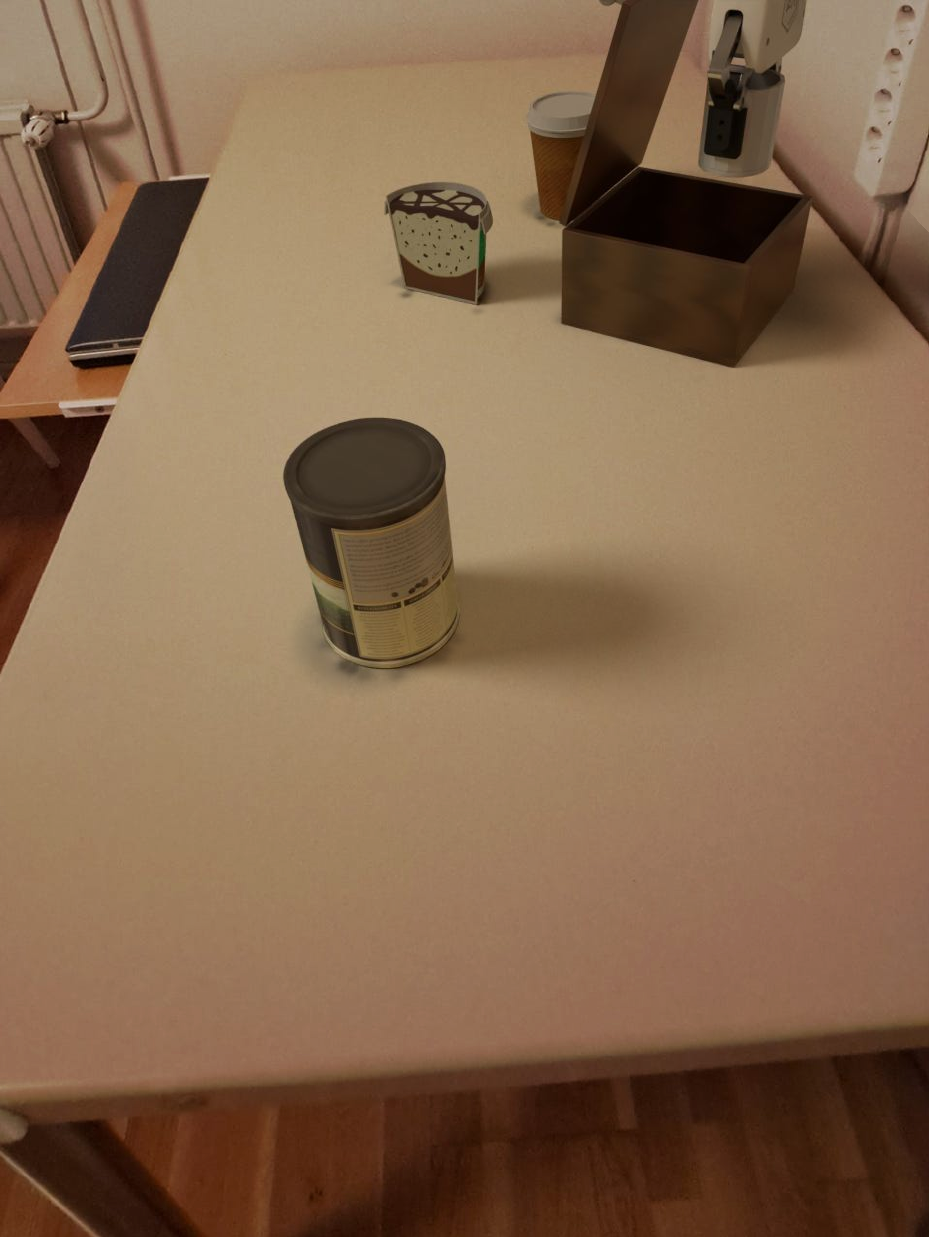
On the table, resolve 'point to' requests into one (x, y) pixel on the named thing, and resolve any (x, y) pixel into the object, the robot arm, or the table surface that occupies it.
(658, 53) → the chest lid
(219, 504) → the table surface
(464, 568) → the table surface
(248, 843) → the table surface
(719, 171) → the white cup
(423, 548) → the coffee can
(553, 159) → the disposable coffee cup
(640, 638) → the table surface
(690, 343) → the storage chest
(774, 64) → the robot arm
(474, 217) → the food container
